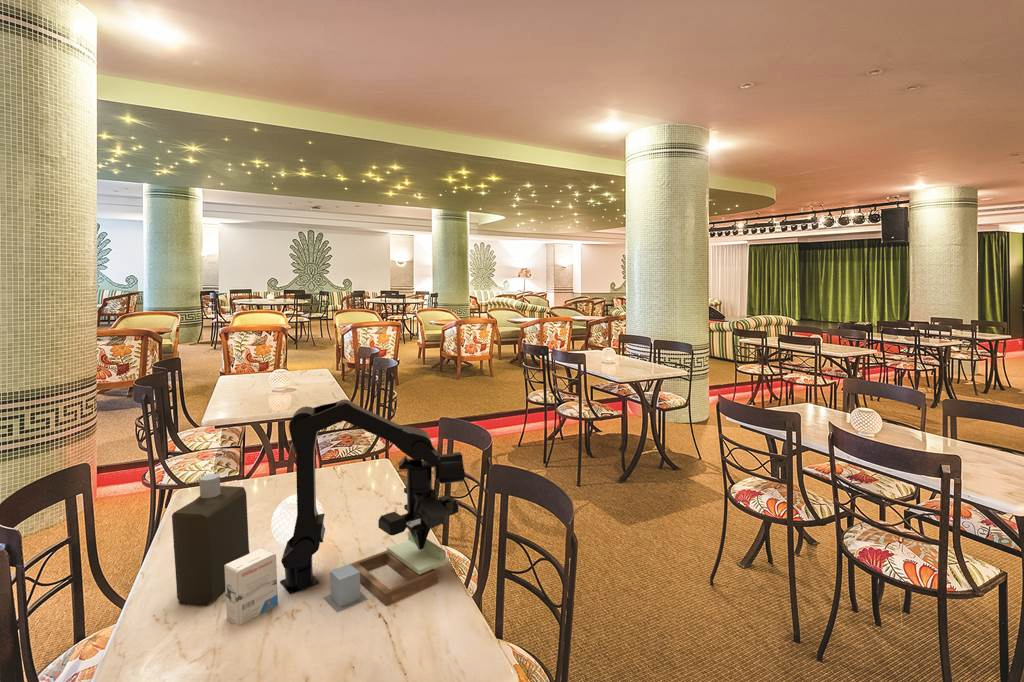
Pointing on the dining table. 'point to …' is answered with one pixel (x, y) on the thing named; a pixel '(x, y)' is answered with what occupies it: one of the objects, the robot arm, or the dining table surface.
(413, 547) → the cover
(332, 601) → the mat
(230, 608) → the ink box
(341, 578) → the block
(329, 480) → the dining table surface
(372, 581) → the brown hollow rectangular piece
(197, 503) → the bottle
